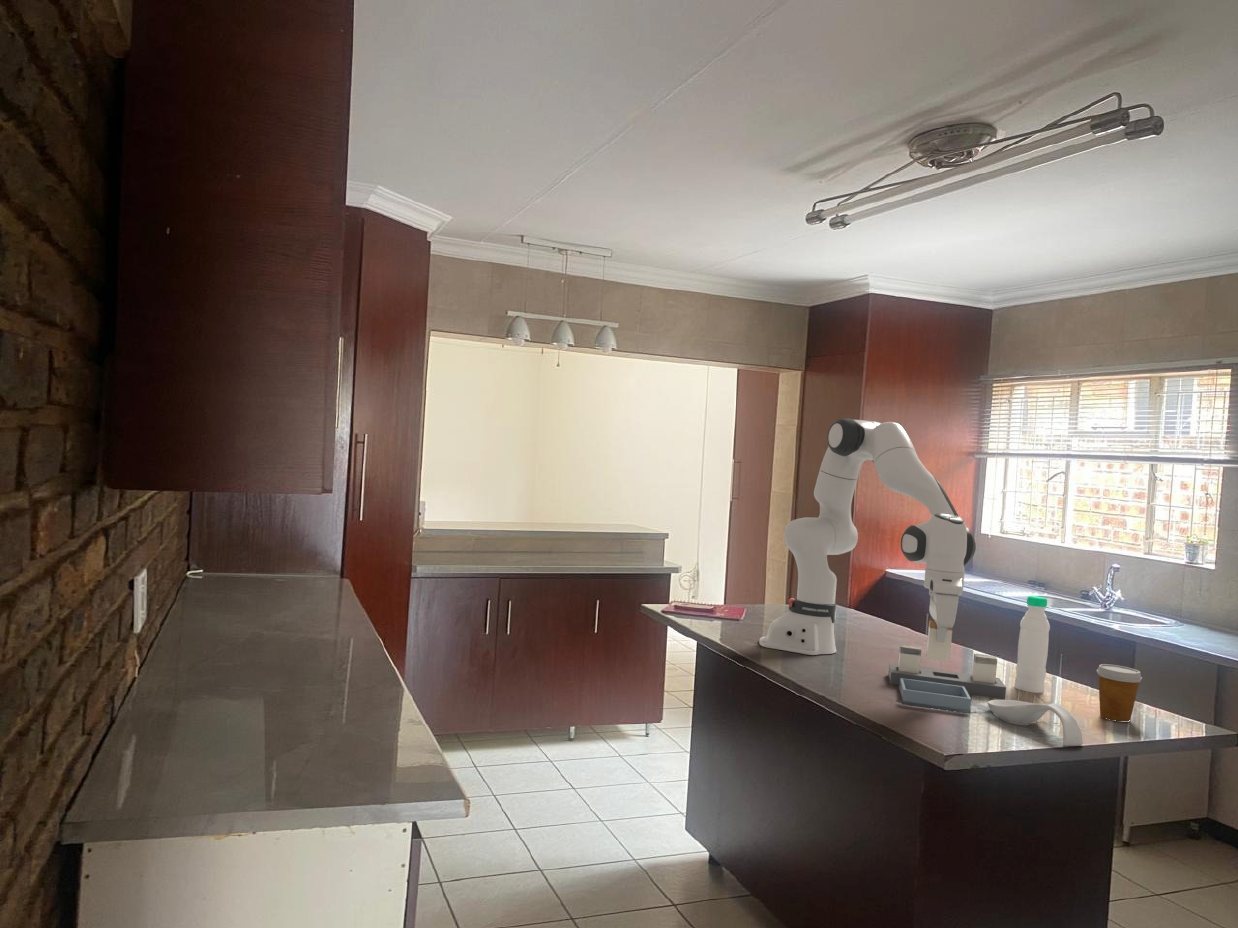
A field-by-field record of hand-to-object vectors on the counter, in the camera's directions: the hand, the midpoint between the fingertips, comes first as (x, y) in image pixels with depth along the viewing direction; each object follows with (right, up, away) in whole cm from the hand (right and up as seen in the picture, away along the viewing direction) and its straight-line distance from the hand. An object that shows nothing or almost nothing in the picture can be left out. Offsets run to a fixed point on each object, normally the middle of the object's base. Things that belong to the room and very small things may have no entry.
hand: (939, 639), depth 215 cm
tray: (-1, -15, 0) cm, 15 cm away
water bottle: (+30, -18, +18) cm, 39 cm away
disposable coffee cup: (+41, -19, -1) cm, 46 cm away
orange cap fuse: (0, -5, 0) cm, 5 cm away
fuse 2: (+15, -15, +11) cm, 24 cm away
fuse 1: (-3, -14, +15) cm, 21 cm away
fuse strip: (+6, -15, +13) cm, 21 cm away
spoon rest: (+16, -17, -15) cm, 28 cm away
